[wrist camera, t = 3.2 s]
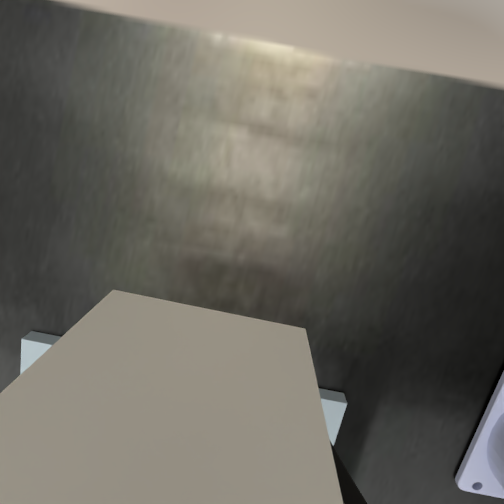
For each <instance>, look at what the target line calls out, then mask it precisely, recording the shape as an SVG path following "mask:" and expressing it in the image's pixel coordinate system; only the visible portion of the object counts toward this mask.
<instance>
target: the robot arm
mask: <svg viewBox="0 0 504 504" xmlns="http://www.w3.org/2000/svg"><path fill="white" fill-rule="evenodd" d="M329 440H330V439H329ZM330 444H331V449H332V453H333V458H334V463H335V467H336V472H337V477H338V481H339V486H340V490H341V495H342V500H343V504H367V502H366V501H365V499H364V498H363V496H362V494H361V493H360V491H359V489H358V488H357V486H356V485H355V483H354V481H353V480H352V478H351V476H350V475H349V473H348V471H347V469H346V468H345V466H344V464H343V462H342V461H341V459H340V457H339V455H338V454H337V452H336V450H335V448H334V447H333V445H332V443H331V441H330ZM455 481H456V484H457V485H458V487H459V488H460V489H461V490H463V491H468V492H473V493H478V494H483V495H488V496H493V497H498V498H504V371H503V373H502V375H501V378H500V380H499V382H498V384H497V386H496V389H495V391H494V393H493V395H492V397H491V400H490V402H489V404H488V406H487V408H486V411H485V413H484V415H483V417H482V419H481V422H480V424H479V426H478V428H477V431H476V433H475V435H474V437H473V439H472V442H471V444H470V446H469V448H468V450H467V453H466V455H465V457H464V459H463V461H462V464H461V466H460V468H459V470H458V472H457V475H456V477H455Z"/></svg>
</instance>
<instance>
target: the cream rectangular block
mask: <svg viewBox="0 0 504 504" xmlns="http://www.w3.org/2000/svg"><path fill="white" fill-rule="evenodd" d="M0 504H343V500H342V495H341V490H340V486H339V481H338V477H337V472H336V467H335V463H334V458H333V453H332V449H331V444H330V440H329V435H328V430H327V426H326V421H325V417H324V412H323V407H322V403H321V398H320V393H319V389H318V384H317V380H316V375H315V370H314V366H313V361H312V356H311V352H310V347H309V343H308V338H307V333H306V329H304V328H300V327H295V326H290V325H285V324H280V323H275V322H270V321H265V320H260V319H255V318H250V317H245V316H241V315H236V314H231V313H226V312H221V311H216V310H211V309H206V308H201V307H196V306H191V305H186V304H181V303H177V302H172V301H167V300H162V299H157V298H152V297H147V296H142V295H137V294H132V293H127V292H122V291H117V290H112V291H111V292H110V293H109V294H108V295H107V296H106V297H105V298H104V299H102V300H101V301H100V302H99V303H98V304H97V305H96V306H95V307H94V308H93V309H92V310H91V311H89V312H88V313H87V314H86V315H85V316H84V317H83V318H82V319H81V320H80V321H79V322H77V323H76V324H75V325H74V326H73V327H72V328H71V329H70V330H69V331H68V332H67V333H65V334H64V335H63V336H62V337H61V338H60V339H59V340H58V341H57V342H56V343H55V344H53V345H52V346H51V347H50V348H49V349H48V350H47V351H46V352H45V353H44V354H43V355H41V356H40V357H39V358H38V359H37V360H36V361H35V362H34V363H33V364H32V365H31V366H30V367H28V368H27V369H26V370H25V371H24V372H23V373H22V374H21V375H20V376H19V377H18V378H16V379H15V380H14V381H13V382H12V383H11V384H10V385H9V386H8V387H7V388H6V389H4V390H3V391H2V392H1V393H0Z"/></svg>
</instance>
